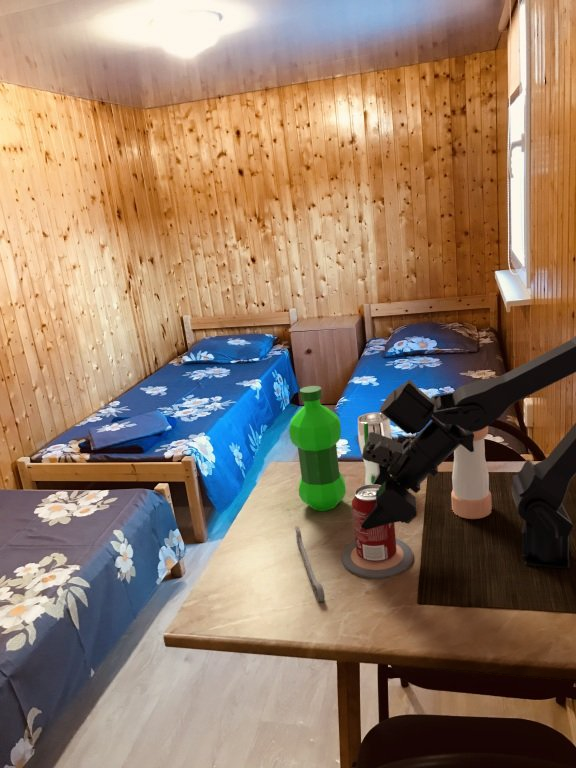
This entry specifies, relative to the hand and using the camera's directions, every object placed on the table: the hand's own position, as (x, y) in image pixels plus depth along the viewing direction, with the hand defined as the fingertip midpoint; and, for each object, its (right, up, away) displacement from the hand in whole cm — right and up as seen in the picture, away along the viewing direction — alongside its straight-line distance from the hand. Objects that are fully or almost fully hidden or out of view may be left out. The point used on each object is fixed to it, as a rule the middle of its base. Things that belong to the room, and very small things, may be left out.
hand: (364, 513), depth 104 cm
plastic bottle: (-5, -3, +23) cm, 24 cm away
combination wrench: (-9, -10, +2) cm, 14 cm away
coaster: (+2, -8, +2) cm, 9 cm away
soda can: (+2, -8, +2) cm, 8 cm away
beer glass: (+7, 0, +29) cm, 30 cm away
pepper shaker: (+22, -2, +14) cm, 26 cm away
